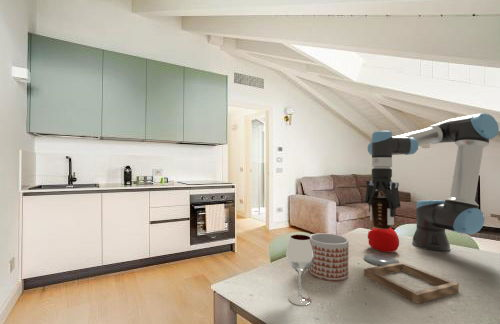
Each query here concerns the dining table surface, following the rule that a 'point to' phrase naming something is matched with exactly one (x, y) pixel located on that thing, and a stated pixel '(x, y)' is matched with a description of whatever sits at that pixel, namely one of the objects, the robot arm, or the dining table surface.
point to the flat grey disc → (380, 259)
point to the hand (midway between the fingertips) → (381, 222)
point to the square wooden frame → (418, 297)
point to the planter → (329, 257)
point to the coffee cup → (380, 212)
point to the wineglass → (300, 263)
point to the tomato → (383, 239)
